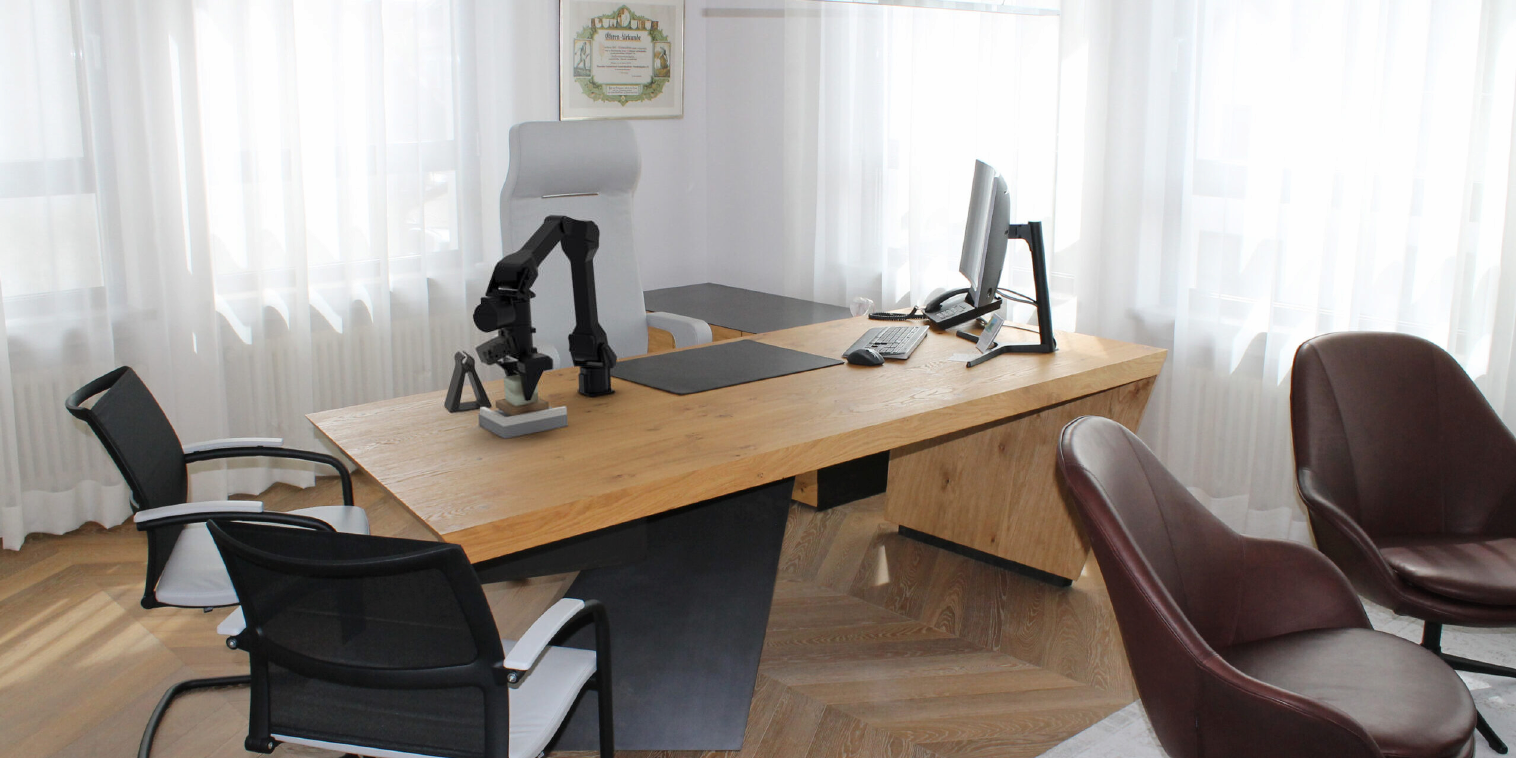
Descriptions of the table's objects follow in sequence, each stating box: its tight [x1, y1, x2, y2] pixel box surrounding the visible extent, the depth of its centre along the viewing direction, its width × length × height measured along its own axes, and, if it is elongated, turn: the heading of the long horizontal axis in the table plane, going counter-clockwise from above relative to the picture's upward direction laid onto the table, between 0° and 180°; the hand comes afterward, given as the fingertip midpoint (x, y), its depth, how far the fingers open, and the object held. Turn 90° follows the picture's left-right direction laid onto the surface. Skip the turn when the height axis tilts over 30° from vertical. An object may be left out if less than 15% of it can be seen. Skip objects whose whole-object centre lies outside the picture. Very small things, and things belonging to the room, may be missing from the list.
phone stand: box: [443, 350, 493, 414], centre depth 238 cm, size 9×6×12 cm, turn 118°
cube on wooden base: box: [495, 375, 550, 416], centre depth 223 cm, size 8×8×6 cm
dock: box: [477, 405, 569, 439], centre depth 225 cm, size 14×12×4 cm
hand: (521, 397), depth 224 cm, fingers closed on cube on wooden base, 5 cm apart
